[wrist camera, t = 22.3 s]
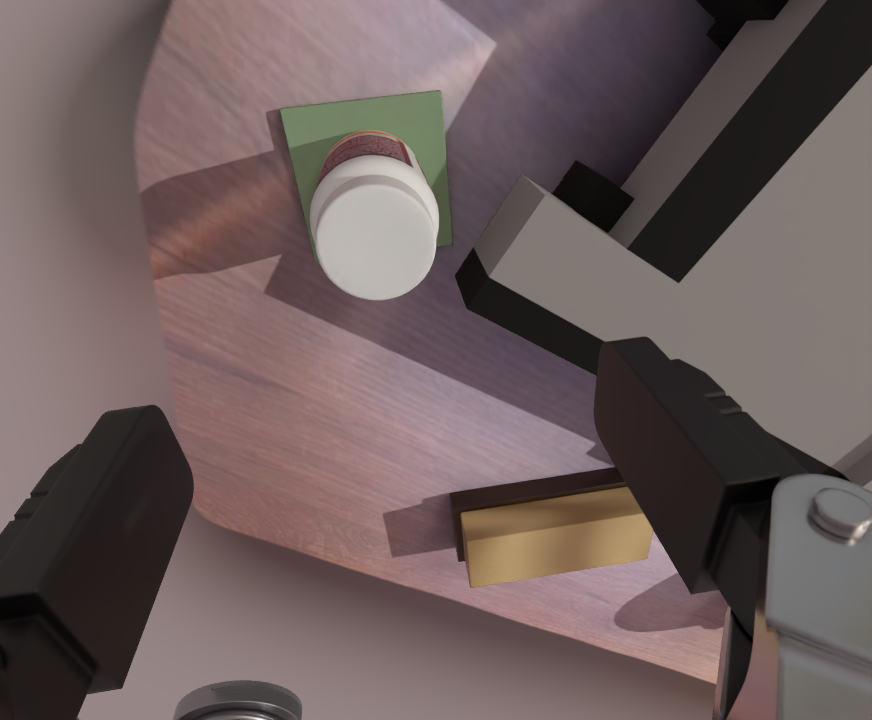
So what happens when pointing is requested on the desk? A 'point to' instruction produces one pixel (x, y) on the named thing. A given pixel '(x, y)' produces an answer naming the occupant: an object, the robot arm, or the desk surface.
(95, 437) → the robot arm
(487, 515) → the scrub brush
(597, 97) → the desk surface
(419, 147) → the green square plate
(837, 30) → the game console
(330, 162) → the pill bottle
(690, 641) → the desk surface
